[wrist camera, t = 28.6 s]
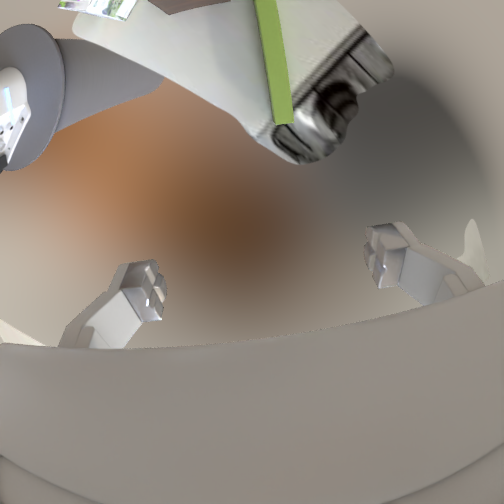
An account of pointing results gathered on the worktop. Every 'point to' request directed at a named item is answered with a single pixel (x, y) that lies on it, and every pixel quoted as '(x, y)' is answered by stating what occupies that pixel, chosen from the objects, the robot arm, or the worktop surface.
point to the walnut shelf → (182, 4)
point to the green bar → (274, 60)
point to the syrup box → (101, 7)
